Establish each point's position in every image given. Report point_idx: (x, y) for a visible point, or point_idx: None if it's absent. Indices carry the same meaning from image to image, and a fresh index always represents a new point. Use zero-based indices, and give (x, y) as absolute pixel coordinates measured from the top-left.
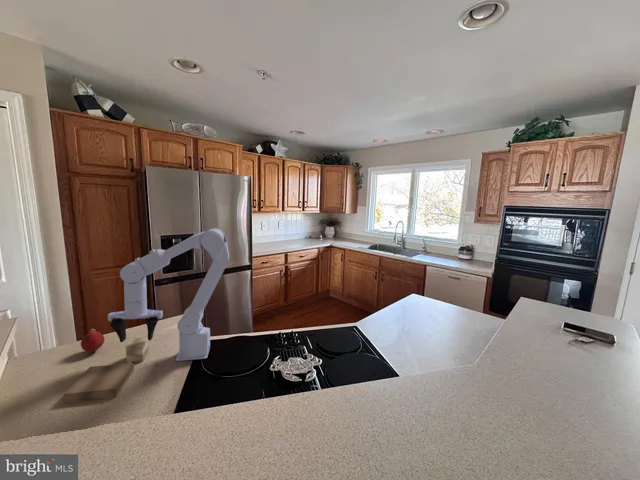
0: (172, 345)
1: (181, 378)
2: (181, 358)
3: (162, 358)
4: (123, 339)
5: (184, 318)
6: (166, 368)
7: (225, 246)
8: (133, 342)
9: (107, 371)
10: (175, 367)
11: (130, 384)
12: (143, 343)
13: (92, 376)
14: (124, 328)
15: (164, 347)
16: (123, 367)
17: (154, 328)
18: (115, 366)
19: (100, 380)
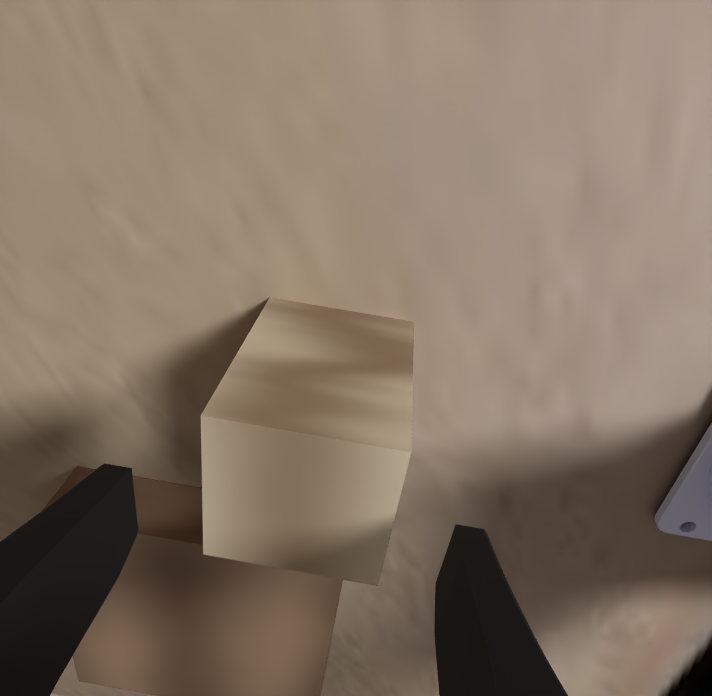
0: (677, 222)
1: (652, 667)
2: (710, 527)
3: (548, 440)
4: (124, 536)
5: None
6: (572, 563)
7: None
8: (262, 519)
9: (195, 597)
10: (636, 573)
11: (365, 618)
12: (384, 557)
13: (130, 613)
14: (13, 636)
15: (578, 242)
16: (285, 593)
17: (541, 669)
18: (222, 566)
19: (200, 653)
